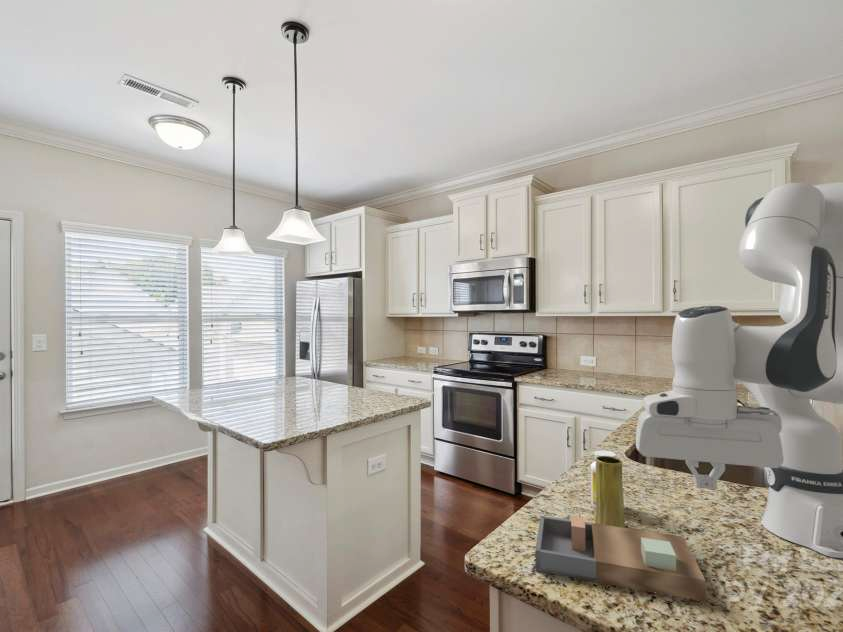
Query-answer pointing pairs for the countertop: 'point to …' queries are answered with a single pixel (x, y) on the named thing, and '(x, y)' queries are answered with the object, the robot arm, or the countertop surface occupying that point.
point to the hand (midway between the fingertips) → (705, 487)
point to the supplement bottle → (593, 474)
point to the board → (627, 568)
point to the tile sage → (658, 554)
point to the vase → (609, 492)
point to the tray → (563, 550)
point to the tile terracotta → (578, 533)
